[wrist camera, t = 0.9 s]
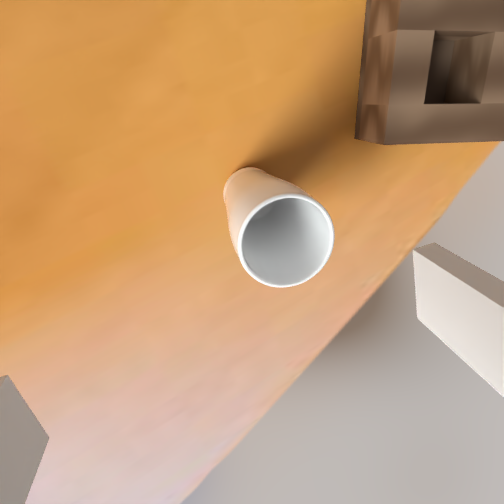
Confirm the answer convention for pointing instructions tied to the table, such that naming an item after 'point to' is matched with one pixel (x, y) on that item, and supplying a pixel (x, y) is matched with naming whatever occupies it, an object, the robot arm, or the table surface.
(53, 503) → the table surface
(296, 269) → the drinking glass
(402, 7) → the bore block
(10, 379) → the robot arm
